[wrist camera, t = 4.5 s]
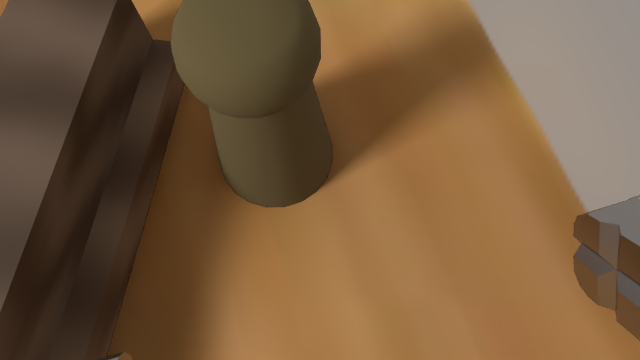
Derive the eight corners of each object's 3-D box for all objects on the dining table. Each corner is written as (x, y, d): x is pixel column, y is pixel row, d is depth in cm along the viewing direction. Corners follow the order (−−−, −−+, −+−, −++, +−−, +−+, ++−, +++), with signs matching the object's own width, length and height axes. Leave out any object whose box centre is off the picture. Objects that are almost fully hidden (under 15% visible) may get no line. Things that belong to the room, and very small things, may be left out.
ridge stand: (59, 50, 28) (-9, -28, 22) (189, 64, 27) (153, -13, 22) (-163, 591, 19) (-373, 687, 13) (28, 629, 18) (-106, 747, 13)
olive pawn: (233, 99, 27) (171, -68, 16) (339, 111, 26) (344, -53, 16) (208, 199, 24) (119, 80, 14) (324, 215, 24) (318, 103, 14)
